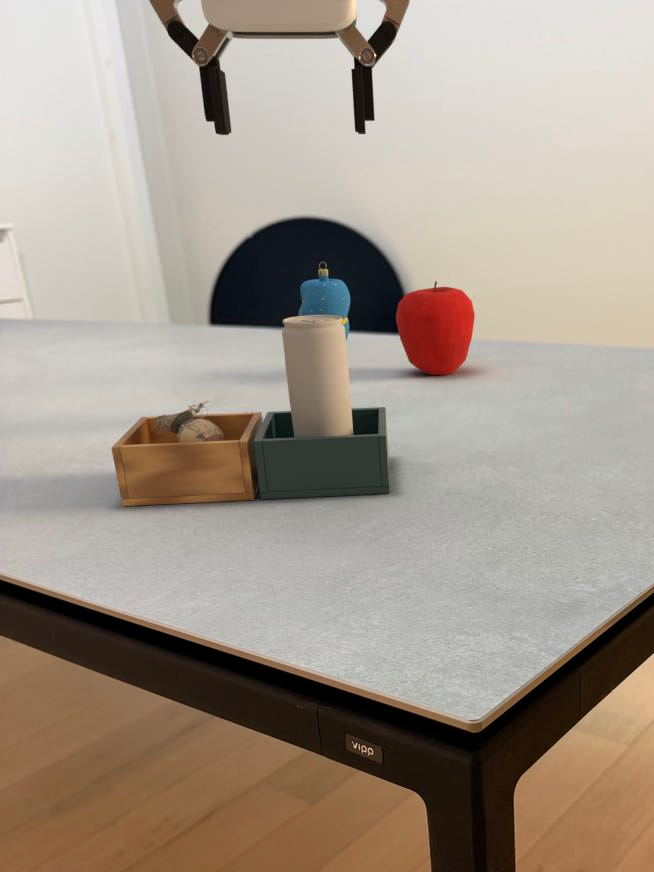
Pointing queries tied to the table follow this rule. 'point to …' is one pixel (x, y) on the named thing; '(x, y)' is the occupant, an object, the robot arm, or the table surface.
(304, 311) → the ornament
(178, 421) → the vase
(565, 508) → the table surface
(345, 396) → the beverage can
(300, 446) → the can bin
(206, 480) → the bin
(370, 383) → the table surface
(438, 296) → the apple
